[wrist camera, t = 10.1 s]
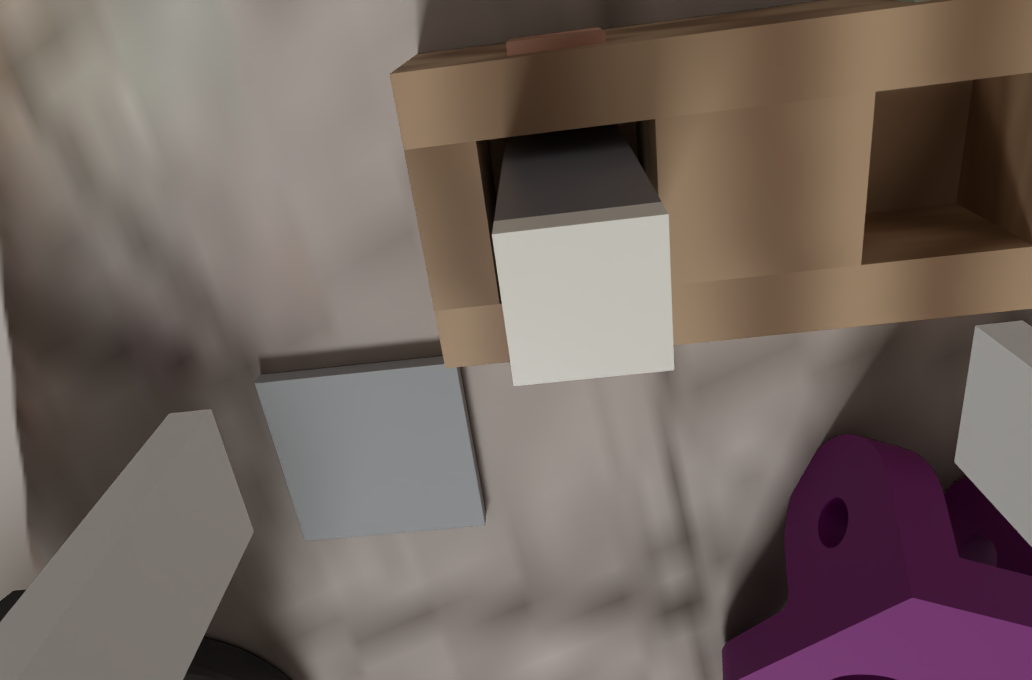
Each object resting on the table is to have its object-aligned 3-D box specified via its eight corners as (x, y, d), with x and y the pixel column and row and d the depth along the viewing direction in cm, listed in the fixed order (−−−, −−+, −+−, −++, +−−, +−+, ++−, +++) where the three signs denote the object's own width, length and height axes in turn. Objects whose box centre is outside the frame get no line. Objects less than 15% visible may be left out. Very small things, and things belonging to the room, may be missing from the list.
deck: (309, 530, 38) (304, 541, 37) (260, 374, 34) (254, 383, 33) (486, 514, 37) (485, 525, 36) (457, 354, 33) (455, 362, 32)
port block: (459, 301, 32) (445, 368, 27) (415, 45, 27) (387, 63, 22) (993, 243, 30) (1092, 302, 25) (1039, -38, 26) (1173, -41, 20)
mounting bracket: (831, 588, 47) (1069, 456, 33) (850, 736, 41) (1143, 655, 27) (690, 552, 46) (874, 401, 32) (691, 700, 40) (912, 597, 26)
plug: (520, 235, 29) (514, 386, 19) (506, 132, 28) (491, 234, 17) (621, 223, 29) (674, 369, 18) (614, 119, 27) (668, 214, 17)
